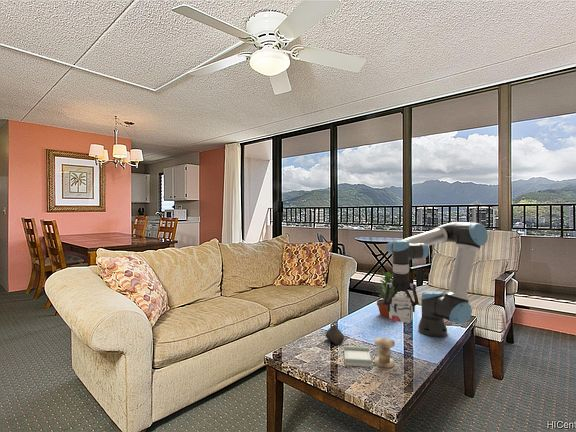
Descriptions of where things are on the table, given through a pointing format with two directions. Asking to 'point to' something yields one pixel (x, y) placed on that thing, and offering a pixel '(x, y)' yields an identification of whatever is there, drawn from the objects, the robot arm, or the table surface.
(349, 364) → the notch board
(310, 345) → the table surface
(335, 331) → the stone
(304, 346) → the table surface
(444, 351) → the table surface
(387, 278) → the potted plant
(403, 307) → the ink box
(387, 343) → the beige door knob
